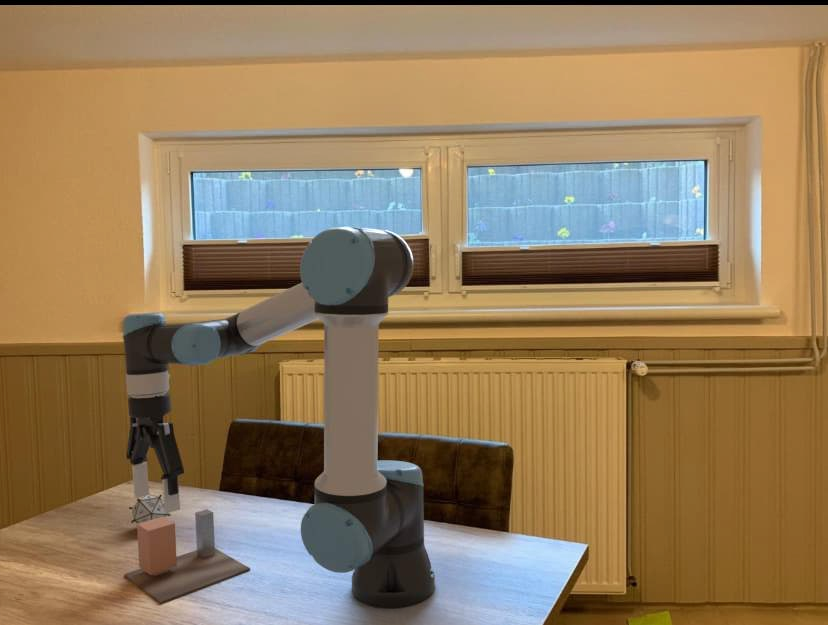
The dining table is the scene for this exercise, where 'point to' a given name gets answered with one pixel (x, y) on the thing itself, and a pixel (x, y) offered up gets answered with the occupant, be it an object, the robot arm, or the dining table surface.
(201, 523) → the grey post
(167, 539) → the terracotta upright block
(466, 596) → the dining table surface
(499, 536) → the dining table surface
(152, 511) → the knobbed grey icosahedron
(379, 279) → the robot arm
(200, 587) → the board
